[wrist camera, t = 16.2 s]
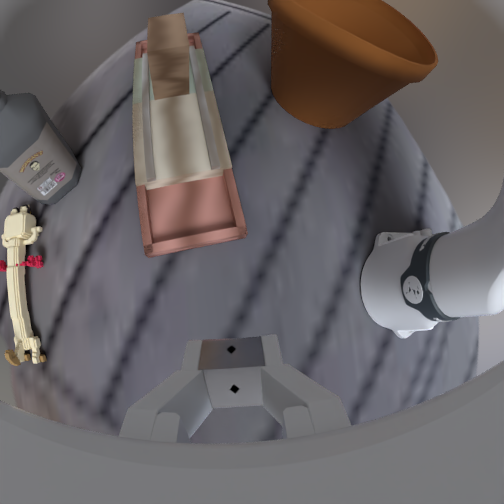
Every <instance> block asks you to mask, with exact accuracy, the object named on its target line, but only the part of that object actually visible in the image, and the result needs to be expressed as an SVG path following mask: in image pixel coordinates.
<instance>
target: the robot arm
mask: <svg viewBox="0 0 504 504" xmlns="http://www.w3.org/2000/svg"><path fill="white" fill-rule="evenodd" d="M387 238H388V239H389V241H388V239H387ZM361 294H362V299H363V303H364V305H365V308H366V310H367V312H368V314H369V315H370V316H371V318H372V319H373V320H374V321H375V322H376V323H378V324H379V325H381V326H383V327H385V328H389V329H391V330H393V332H394V333H395V334H396V335H397V336H398V337H399V338H407V337H409V336H410V335H411V334H412V333H413V332H414V331H421V330H431V329H433V327H434V326H435V325H436V324H437V323H438V322H449V321H452V320H457V319H459V318H460V317H471V316H486V315H495V314H498V313H499V312H501V311H502V310H503V309H504V179H503V183H502V187H501V190H500V193H499V196H498V198H497V200H496V202H495V204H494V205H493V207H492V208H491V209H490V210H489V212H487V213H486V214H485V215H484V216H483V217H482V218H480V219H479V220H477V221H475V222H473V223H471V224H469V225H467V226H465V227H463V228H461V229H459V230H456V231H454V232H451V233H450V232H442V233H437V234H434V235H433V234H432V232H431V229H423V230H421V231H414V232H412V233H396V232H382V233H379V234H378V235H377V236H376V240H375V244H374V249H373V251H372V253H371V254H370V256H369V257H368V259H367V260H366V262H365V265H364V268H363V271H362V276H361ZM258 405H263V407H264V408H265V409H266V410H267V411H268V412H269V413H270V414H271V415H272V416H273V417H274V418H275V419H276V420H277V421H278V422H279V423H280V424H281V425H282V426H283V432H282V439H279V440H270V441H260V442H247V443H226V444H193V443H192V442H191V440H190V437H191V436H192V435H193V433H194V432H195V431H196V430H197V428H198V427H199V426H200V425H201V423H202V422H203V421H204V420H205V418H206V417H207V416H208V415H209V413H210V412H211V411H212V408H225V407H239V406H258ZM0 504H504V360H503V361H502V362H500V363H498V364H497V365H495V366H494V367H492V368H490V369H489V370H487V371H485V372H484V373H482V374H481V375H478V376H477V377H475V378H473V379H471V380H469V381H467V382H465V383H464V384H462V385H460V386H458V387H456V388H454V389H452V390H450V391H447V392H445V393H443V394H441V395H439V396H437V397H434V398H432V399H430V400H427V401H425V402H422V403H420V404H417V405H415V406H412V407H410V408H407V409H404V410H402V411H399V412H396V413H393V414H390V415H387V416H384V417H381V418H378V419H374V420H371V421H368V422H364V423H360V424H357V425H353V426H351V424H350V421H349V419H348V416H347V414H346V411H345V409H344V406H343V404H342V402H341V399H340V397H338V396H337V395H335V394H333V393H332V392H330V391H329V390H327V389H325V388H324V387H322V386H321V385H319V384H318V383H316V382H315V381H313V380H312V379H310V378H308V377H307V376H305V375H304V374H302V373H301V372H299V371H298V370H296V369H295V368H293V367H292V366H291V365H289V364H283V360H282V356H281V352H280V348H279V343H278V339H277V335H276V334H272V335H264V336H259V337H249V338H237V339H210V340H189V341H188V342H187V345H186V349H185V353H184V357H183V362H182V366H181V371H175V372H174V373H173V374H172V375H170V376H169V377H168V378H167V379H165V380H164V381H163V382H161V383H160V384H159V385H158V386H156V387H155V388H154V389H153V390H151V391H150V392H149V393H147V394H146V395H145V396H144V397H142V398H141V399H140V400H138V401H137V402H136V403H134V404H133V405H132V406H131V407H129V408H128V410H127V413H126V416H125V419H124V422H123V425H122V428H121V431H120V434H119V436H114V435H109V434H104V433H99V432H94V431H90V430H85V429H81V428H77V427H73V426H70V425H66V424H63V423H59V422H56V421H53V420H50V419H47V418H44V417H41V416H38V415H35V414H32V413H29V412H27V411H24V410H22V409H19V408H17V407H14V406H12V405H10V404H7V403H5V402H2V401H0Z"/></svg>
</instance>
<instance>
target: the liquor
mask: <svg viewBox="0 0 504 504" xmlns="http://www.w3.org/2000/svg"><path fill="white" fill-rule="evenodd" d="M0 172H1V173H3V174H4V175H5V176H6V177H7V178H9V179H10V180H11V181H12V182H14V183H15V184H16V185H17V186H19V187H20V188H21V189H22V190H24V191H25V192H26V193H28V194H29V195H30V196H32V197H33V198H34V199H35V200H37V201H38V202H39V203H41V204H56V203H57V202H58V201H59V200H60V199H61V198H62V197H64V196H65V195H66V194H67V193H68V192H69V191H71V190H72V189H73V188H74V187H75V186H77V183H78V179H79V176H80V173H81V167H80V165H79V163H78V162H77V160H76V158H75V156H74V154H73V152H72V150H71V148H70V147H69V146H68V144H67V143H66V141H65V140H64V139H63V137H62V136H61V134H60V133H59V131H58V130H57V128H56V127H55V126H54V124H53V123H52V121H51V120H50V118H49V117H48V115H47V113H46V112H45V110H44V109H43V107H42V106H41V104H40V103H39V101H38V99H37V98H36V96H35V95H33V94H31V93H23V94H12V95H6V94H5V92H3V91H1V90H0Z"/></svg>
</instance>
